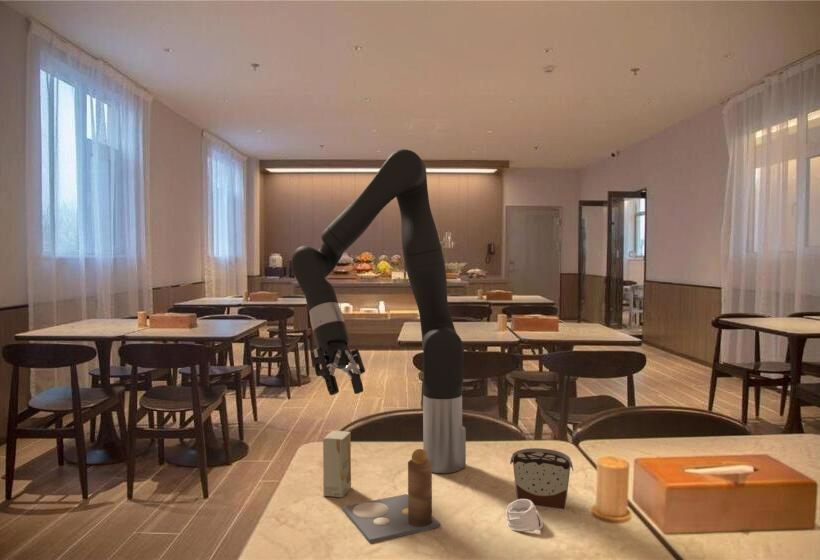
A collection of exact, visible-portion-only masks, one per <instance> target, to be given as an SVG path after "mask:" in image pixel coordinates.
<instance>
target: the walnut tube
mask: <svg viewBox="0 0 820 560" xmlns="http://www.w3.org/2000/svg"><path fill="white" fill-rule="evenodd" d="M432 473H433V472H432V462H431V461H430V460H428V455H427V453H426V451H424V450H423V448H417V449H415V450H414V451H413V452H412V455H411V460H408V462H407V480H408V481H407V492H408V493H407V495H408V522H409V524H411V525H413V526H416V527H424V526H428V525H430V524H431V523H432V516H433V480H432V479H433V475H432Z"/></svg>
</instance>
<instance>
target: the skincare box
mask: <svg viewBox="0 0 820 560" xmlns="http://www.w3.org/2000/svg"><path fill="white" fill-rule="evenodd" d="M351 442H352V440H351V431H344V430H332V431H330V432H329V433H328V434H327V435H325V436H324V437H323V439H322V450H323V451H322V454H323V456H322V457H323V459H322V460H323V462H322V465H323V466H322V467H323V479H322V480H323V483H322V484H323V491H322V492H323V496H324V497H334V498H335V497H337V498H343V497H344V496H345V495H346V494H347V493H348V491H349V490H350V489H351V487H352V464H351V463H352V457H351V455H352V454H351V452H352V450H351V449H352V444H351Z"/></svg>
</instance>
